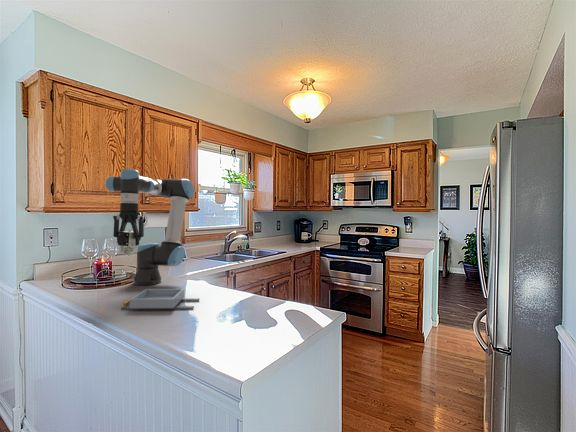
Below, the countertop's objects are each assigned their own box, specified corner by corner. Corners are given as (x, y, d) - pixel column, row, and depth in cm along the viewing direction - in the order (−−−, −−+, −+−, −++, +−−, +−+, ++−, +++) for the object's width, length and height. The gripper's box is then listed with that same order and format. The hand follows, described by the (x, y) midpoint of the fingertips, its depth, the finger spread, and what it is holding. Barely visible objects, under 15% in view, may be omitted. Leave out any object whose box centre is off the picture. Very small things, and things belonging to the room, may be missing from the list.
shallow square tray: (145, 296, 148) (146, 288, 148) (184, 296, 150) (184, 288, 150) (129, 308, 130) (129, 299, 130) (173, 308, 132) (173, 299, 132)
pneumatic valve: (140, 253, 150) (141, 229, 150) (124, 256, 138) (126, 230, 138) (129, 252, 151) (131, 228, 151) (113, 255, 139) (115, 229, 139)
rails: (133, 300, 146) (133, 296, 146) (199, 300, 148) (199, 296, 148) (119, 309, 132) (119, 305, 132) (192, 309, 134) (193, 305, 134)
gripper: (104, 201, 140) (103, 253, 140) (146, 202, 141) (145, 253, 141) (113, 202, 148) (112, 251, 148) (152, 203, 149) (151, 251, 149)
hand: (128, 252), depth 145 cm, fingers closed on pneumatic valve, 5 cm apart
